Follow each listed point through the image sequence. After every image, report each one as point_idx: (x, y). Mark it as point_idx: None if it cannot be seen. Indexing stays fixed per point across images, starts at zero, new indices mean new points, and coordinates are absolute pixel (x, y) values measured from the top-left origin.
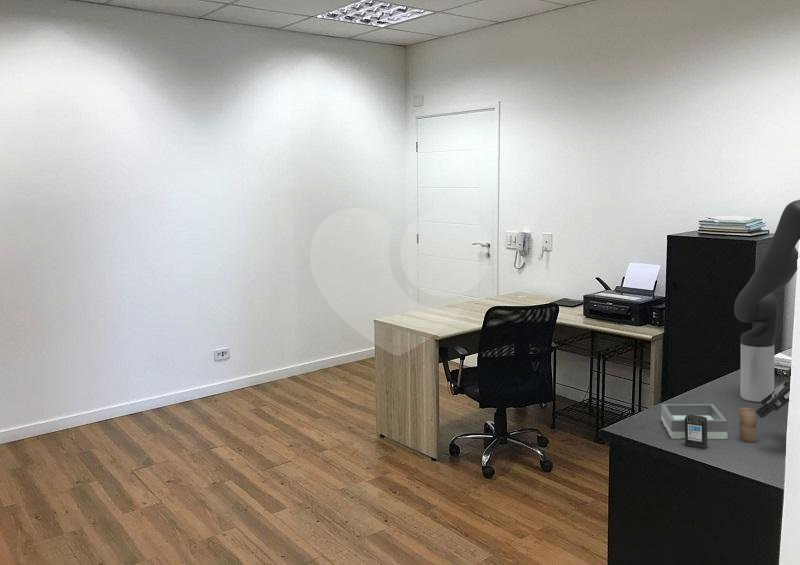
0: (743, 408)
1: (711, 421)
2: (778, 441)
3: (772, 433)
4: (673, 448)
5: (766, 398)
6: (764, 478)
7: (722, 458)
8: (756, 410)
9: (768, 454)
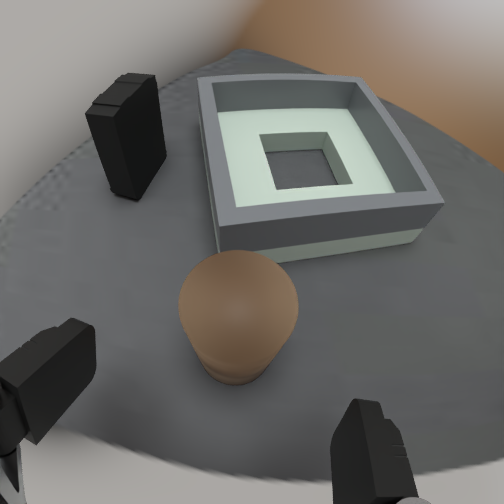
0: (274, 278)
1: (210, 169)
2: (235, 473)
3: None
4: None
5: (362, 444)
6: None
7: (42, 237)
8: (76, 321)
9: None
